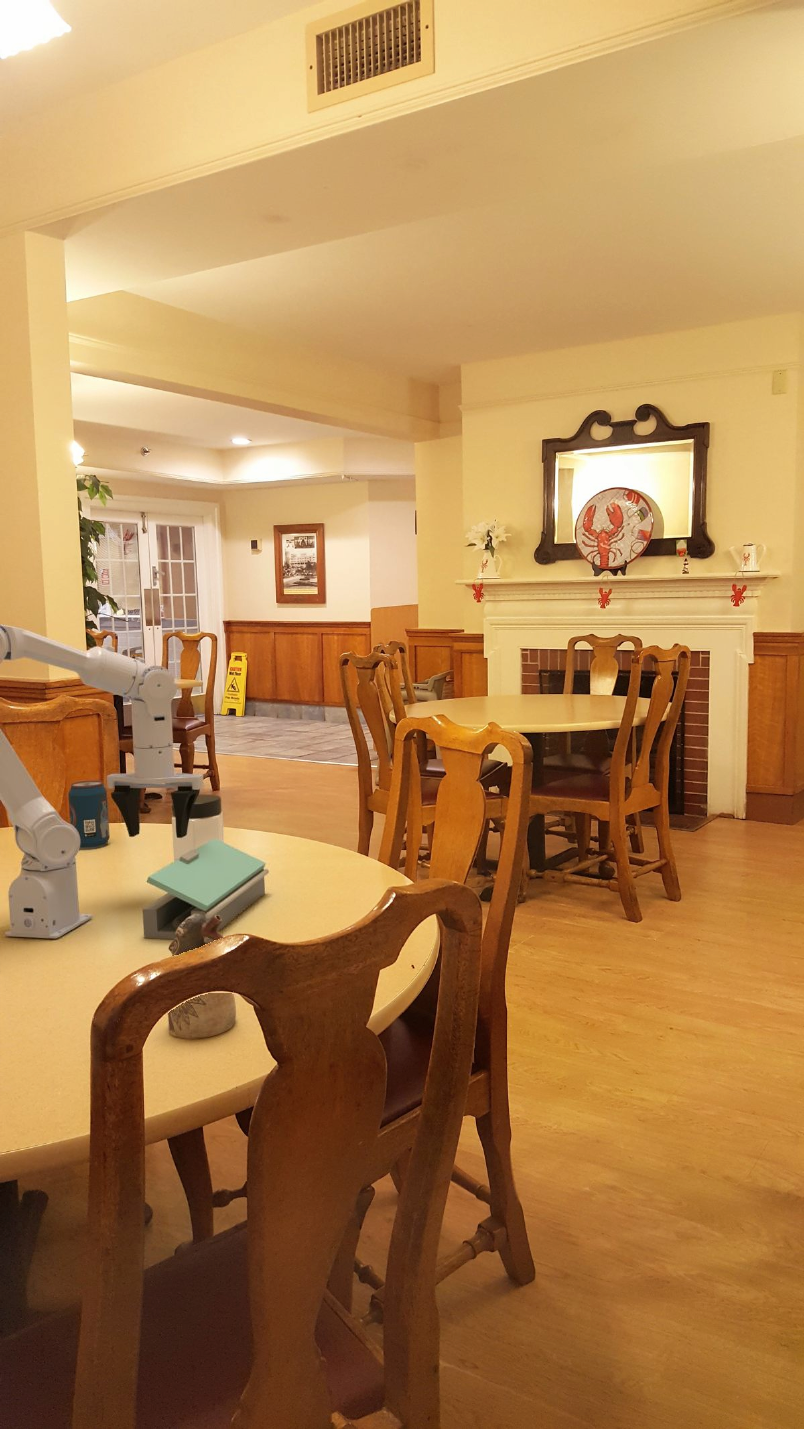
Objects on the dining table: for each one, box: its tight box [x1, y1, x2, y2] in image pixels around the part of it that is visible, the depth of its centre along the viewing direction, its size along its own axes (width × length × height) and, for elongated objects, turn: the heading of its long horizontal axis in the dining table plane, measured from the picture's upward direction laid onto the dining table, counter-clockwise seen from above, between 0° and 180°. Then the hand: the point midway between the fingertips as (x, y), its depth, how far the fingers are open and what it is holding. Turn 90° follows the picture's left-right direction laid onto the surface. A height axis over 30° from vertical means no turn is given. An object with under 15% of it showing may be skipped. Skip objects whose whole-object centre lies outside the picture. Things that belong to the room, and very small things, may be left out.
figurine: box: [167, 914, 237, 1040], centre depth 105 cm, size 7×7×12 cm
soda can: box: [68, 780, 111, 850], centre depth 187 cm, size 7×7×12 cm
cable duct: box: [142, 867, 270, 940], centre depth 143 cm, size 22×10×4 cm, turn 167°
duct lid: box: [146, 838, 267, 911], centre depth 143 cm, size 22×9×1 cm, turn 167°
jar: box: [171, 794, 225, 862], centre depth 169 cm, size 9×8×12 cm
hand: (157, 835), depth 149 cm, fingers open, 7 cm apart
